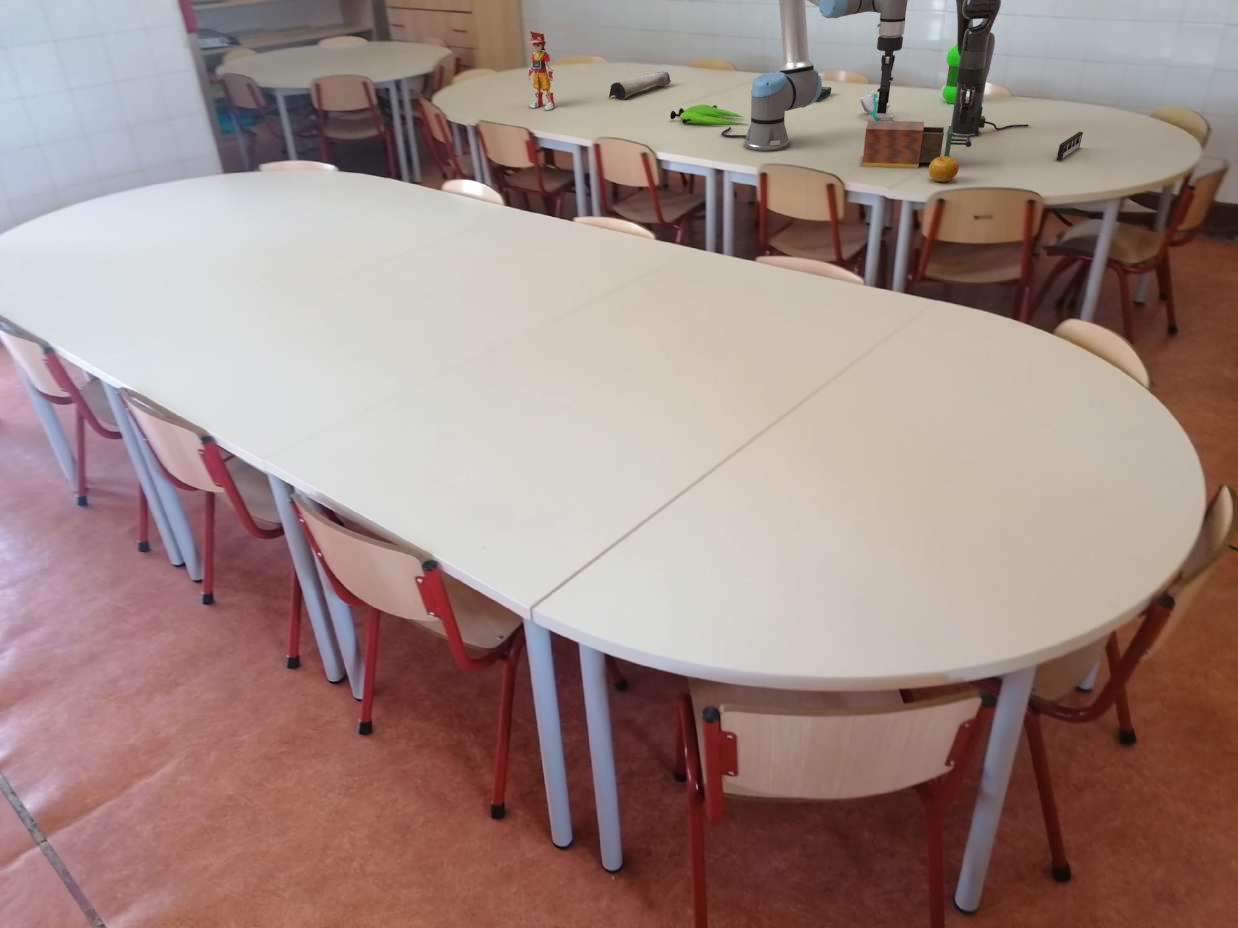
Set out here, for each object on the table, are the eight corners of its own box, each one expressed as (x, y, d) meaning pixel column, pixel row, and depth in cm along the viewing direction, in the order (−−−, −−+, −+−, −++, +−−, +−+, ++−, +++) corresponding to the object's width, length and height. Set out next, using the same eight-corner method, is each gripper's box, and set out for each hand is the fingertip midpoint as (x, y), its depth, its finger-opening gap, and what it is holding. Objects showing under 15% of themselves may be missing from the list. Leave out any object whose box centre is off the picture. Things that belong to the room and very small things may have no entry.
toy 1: (525, 109, 381) (517, 32, 364) (534, 104, 388) (527, 28, 371) (550, 110, 377) (543, 32, 360) (559, 105, 384) (553, 28, 367)
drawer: (967, 157, 293) (972, 126, 287) (968, 166, 286) (973, 134, 280) (896, 155, 299) (899, 124, 293) (894, 163, 292) (898, 132, 286)
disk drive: (818, 102, 366) (831, 94, 376) (818, 95, 364) (831, 87, 374) (794, 100, 370) (807, 92, 380) (794, 93, 369) (808, 85, 379)
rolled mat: (651, 76, 408) (662, 61, 399) (662, 93, 408) (674, 79, 400) (605, 92, 391) (616, 77, 383) (617, 110, 391) (628, 95, 383)
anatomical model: (855, 90, 344) (881, 82, 343) (857, 117, 350) (883, 110, 349) (867, 99, 332) (894, 92, 331) (869, 127, 337) (896, 120, 337)
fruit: (922, 172, 274) (939, 148, 271) (923, 174, 282) (940, 151, 279) (945, 187, 273) (963, 164, 270) (946, 189, 281) (963, 166, 278)
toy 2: (660, 123, 346) (729, 136, 334) (661, 109, 344) (731, 121, 331) (693, 112, 367) (760, 123, 354) (694, 98, 364) (762, 110, 351)
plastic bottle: (973, 101, 354) (984, 32, 339) (955, 106, 349) (966, 36, 335) (952, 97, 361) (962, 29, 346) (934, 102, 356) (944, 33, 342)
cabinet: (919, 158, 298) (924, 121, 291) (918, 167, 290) (923, 130, 283) (864, 156, 302) (868, 120, 296) (862, 165, 294) (865, 129, 288)
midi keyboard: (1060, 160, 287) (1063, 145, 284) (1056, 160, 288) (1059, 144, 285) (1079, 147, 298) (1083, 132, 295) (1075, 147, 298) (1079, 131, 296)
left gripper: (880, 28, 286) (873, 98, 298) (875, 43, 267) (867, 117, 279) (904, 28, 284) (896, 98, 296) (901, 43, 265) (892, 118, 277)
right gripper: (958, 61, 280) (949, 118, 290) (959, 70, 269) (949, 129, 279) (984, 61, 278) (974, 119, 288) (985, 70, 267) (975, 130, 277)
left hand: (882, 108), depth 288 cm, fingers open, 13 cm apart
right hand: (962, 124), depth 283 cm, fingers closed
